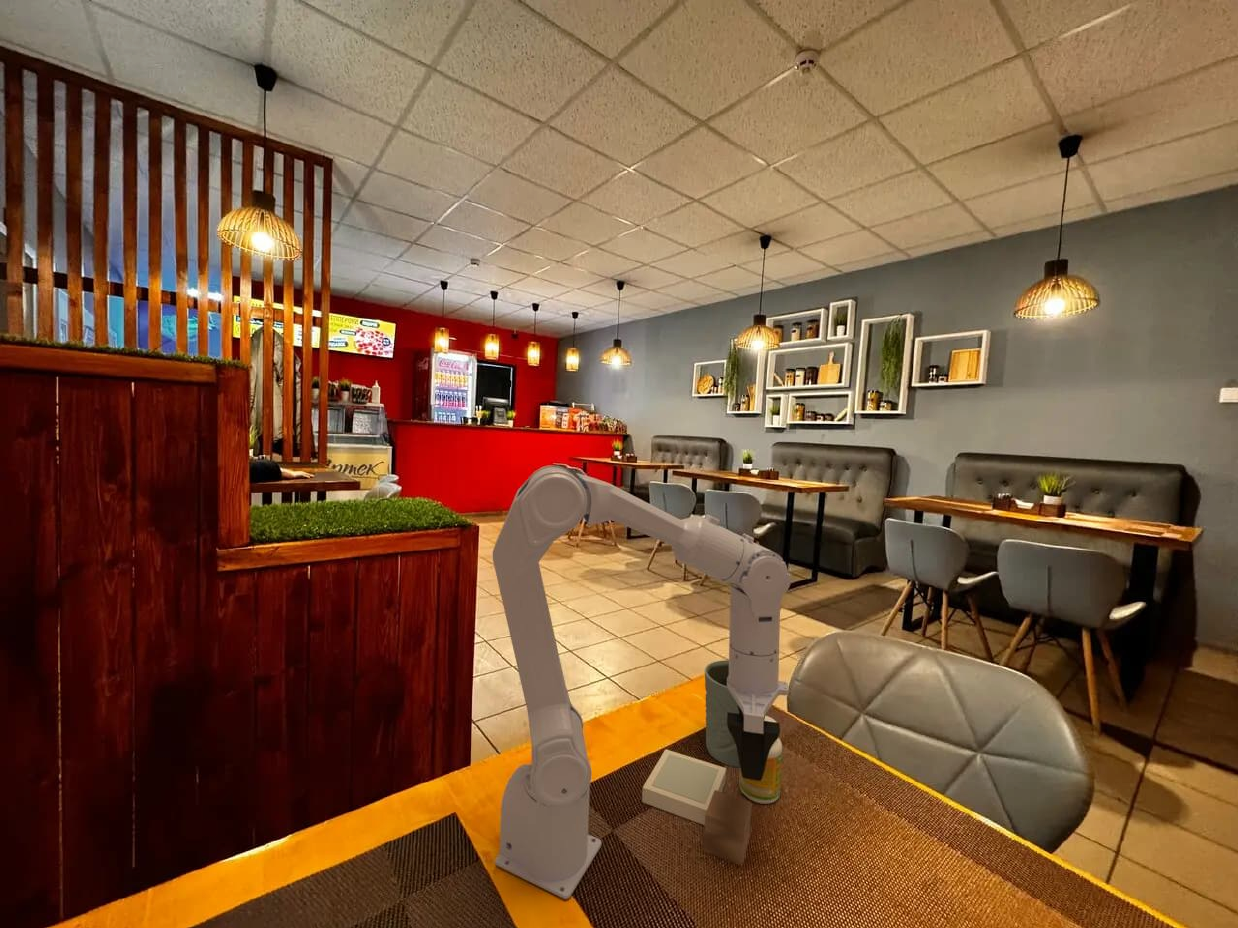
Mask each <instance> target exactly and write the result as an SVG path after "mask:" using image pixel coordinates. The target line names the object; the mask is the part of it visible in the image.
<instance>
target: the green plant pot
mask: <svg viewBox="0 0 1238 928" xmlns="http://www.w3.org/2000/svg"><path fill="white" fill-rule="evenodd" d="M728 676H729V659H726V660H724V659H723V660H717V661H714V662H711V663H709V664H708V665H706V667H705V668H704V685H705V687H704V688H705V689H704V690H705V691H706V693H705V746H706V749H707V751H708V753H709V754H710V756H711V757H712V758H713V759H714V760H715V761H718V762H719V763H722V764H723V765H726V766H730V767H735V768H740V764H739V758H738V752H737V748H736V744H735V741H734V739H733V737H732V735H731V733H730V732H729V729H728V726H727V713H728V712H730V713H737V714H739V709H738V704H737V702H736V701H735V699H734V697H733V696H732V694H731V693H730V691H729V689H728V687H727V677H728ZM768 713H769V710H768V711H767V713H766V714H765V716H768Z"/></svg>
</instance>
